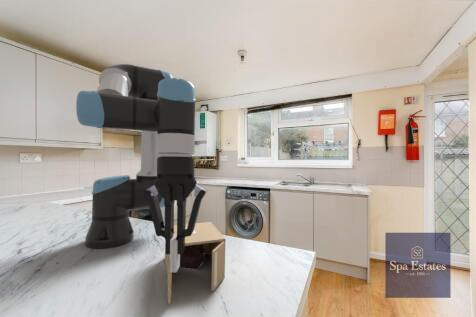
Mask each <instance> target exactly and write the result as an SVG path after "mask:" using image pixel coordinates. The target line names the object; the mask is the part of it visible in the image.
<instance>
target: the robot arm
mask: <svg viewBox="0 0 476 317" xmlns="http://www.w3.org/2000/svg"><path fill="white" fill-rule="evenodd" d="M98 83H99V85H98V87H97V89H96V90H91V91H90V90H80V91H79V92H78V93H77V96H76V102H75V104H76V108H75V109H76V117H77V122H78V123H79V124H80V125H82V126H84V127H91V128H97V129H111V130H112V129H114V130H115V129H116V130H129V131H130V130H131V131H141V147H140V148H141V153H140V170H139V171H138V172H137V173H136V174H135V178H131V176H130V175H127V174H126V175H115V176H108V177H102V178H98V179H96V180H95V181H94V182H93V185H92V192H91V194H92V206H91V208H92V209H91V211H92V212H91V222H90V225H89V228H88V230H87V233H86V236H85V239H84V241H85V242H84V244H85V246H86V247H88V248H91V249H107V248H108V249H109V248H115V247H119V246H121V245H124V244H127V243H129V242H131V241H132V240H133V239H134V233H135V232H134V229H133V226H132V222H131V220H130V211H136V210H137V211H138V210H149V212H150V215H151V219H152V224H153V228H154V231H155V235H156V236H157V237H161V238H164V239H165V242H164V243H165V244H164V245H165V246H164V249H165V250H164V253H165V252H166V254H170V272H172V273H178V270H179V267H180V254H183V252H184V250H185V237H187V236H191V234H192V233H193V231H194V228H195V224H196V223H197V220H198V216H199V211H200V208H201V203H202V200H203V198H204V197H205V196H206V194H207V191H208V190H207V189H206V188H203V187H201V186H200V185H198V184H197V183H198V182H197V179H196V178H195V158H194V156H192V155H194V154H195V148H196V147H195V140H196V138H195V134H196V132H195V130H196V129H195V128H196V127H195V126H196V123H195V122H196V102H197V100H196V92H195V91H196V89H195V85H193V83H192V82H190V81H188V80H186V79H182V78H178V77H173V76H172V74H171V73H169V72H167V71H163V70H161V69H154V68H148V67H144V66H138V65H133V64H129V63H127V64H126V63H122V64H121V63H120V64H115V65H114V64H113V65H111V66H108V67H105V68H103V70H102V71H101V72H100V73H99V76H98ZM193 191H194V192H193ZM192 192H193V195H194V197H195V198H194V200H193V204H192V206H191V207H192V208H191V211H190V216H189V220H188V223H186V222H187V221H186V220H187V217H186V215H187V213H186V212H187V210H186V209H187V199H188V198H189V197H190V195H191V193H192ZM175 201H176V206H177V207H176V208H177V209H176V210H177V211H176V213H177V214H176V224H177V235H174V236H173V234H174V233H175V231H174V225H175ZM162 208H164V218H163V212H162ZM186 224H188V227H187V229H186Z"/></svg>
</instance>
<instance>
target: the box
mask: <svg viewBox="0 0 476 317" xmlns="http://www.w3.org/2000/svg"><path fill="white" fill-rule="evenodd" d="M204 249H205V244H196V245H188V246H185V250H184V252H183V254H180V267H179V268H180V269H188V270H195V271H196V270H198V269H199V268H200V267H201V266H202V264H203V263H204V262H205V254H204Z"/></svg>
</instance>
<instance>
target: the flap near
mask: <svg viewBox="0 0 476 317" xmlns="http://www.w3.org/2000/svg"><path fill="white" fill-rule="evenodd" d="M172 281H173V272H170V257H169V269H168V285H167V300H168V301H167V304H171V303H172V288H173V287H172V286H173V285H172V284H173V282H172Z"/></svg>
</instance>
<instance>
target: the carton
mask: <svg viewBox="0 0 476 317" xmlns="http://www.w3.org/2000/svg"><path fill="white" fill-rule="evenodd" d="M187 227H188V223H186V229H187ZM174 231H175V233H174V234H173V236H174V235H177V223H176V224H174ZM222 242H224V278H225V277H226V276H225V275H226V274H225V273H226V272H225V271H226V269H225V267H226V238H225V236H224V235H223V234H222V233H221V232H220V230H219V229H218V228H217V227H216V226H215V225H214V224H213V222H212V221H203V222H201V221H200V222H196V224H195V228H194V231H193V233H192V234H191V236H187V237H185V246H188V245H196V244H205V249H204V255H207V254H208V255H209V256H210V259H212V251H213V250H214V249H215V248H216V247H217V246H219V245H220V244H221V243H222ZM169 257H170V254H166V252H165V251H164V262H165V270H166V271H165V272H166V284H167V286H168V269H169ZM224 278H223V279H224Z"/></svg>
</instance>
